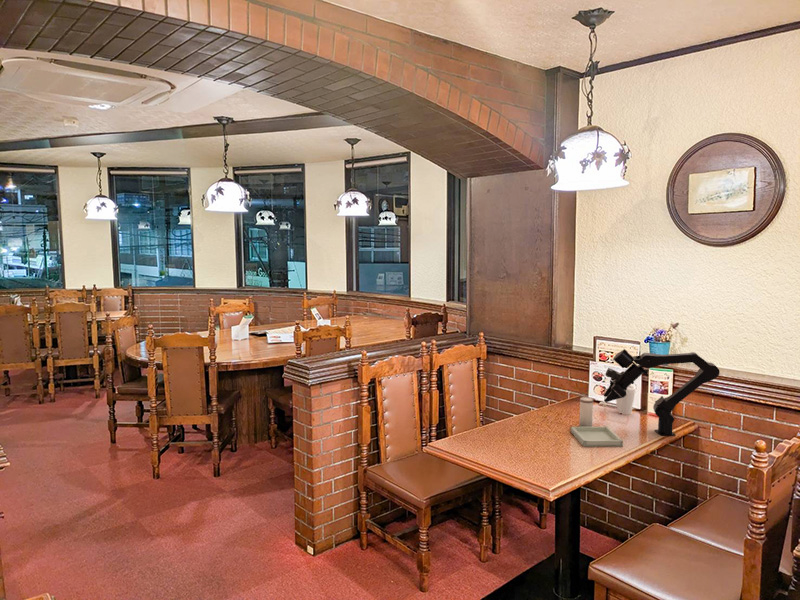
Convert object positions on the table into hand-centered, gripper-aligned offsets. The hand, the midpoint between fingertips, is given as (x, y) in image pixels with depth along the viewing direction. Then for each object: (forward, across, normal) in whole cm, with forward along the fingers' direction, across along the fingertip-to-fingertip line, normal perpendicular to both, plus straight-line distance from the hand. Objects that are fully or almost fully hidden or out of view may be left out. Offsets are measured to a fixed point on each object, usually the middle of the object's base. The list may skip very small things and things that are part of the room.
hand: (604, 398), depth 253 cm
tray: (+12, +17, +6) cm, 22 cm away
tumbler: (+15, +2, +3) cm, 16 cm away
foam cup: (+3, -27, +17) cm, 32 cm away
